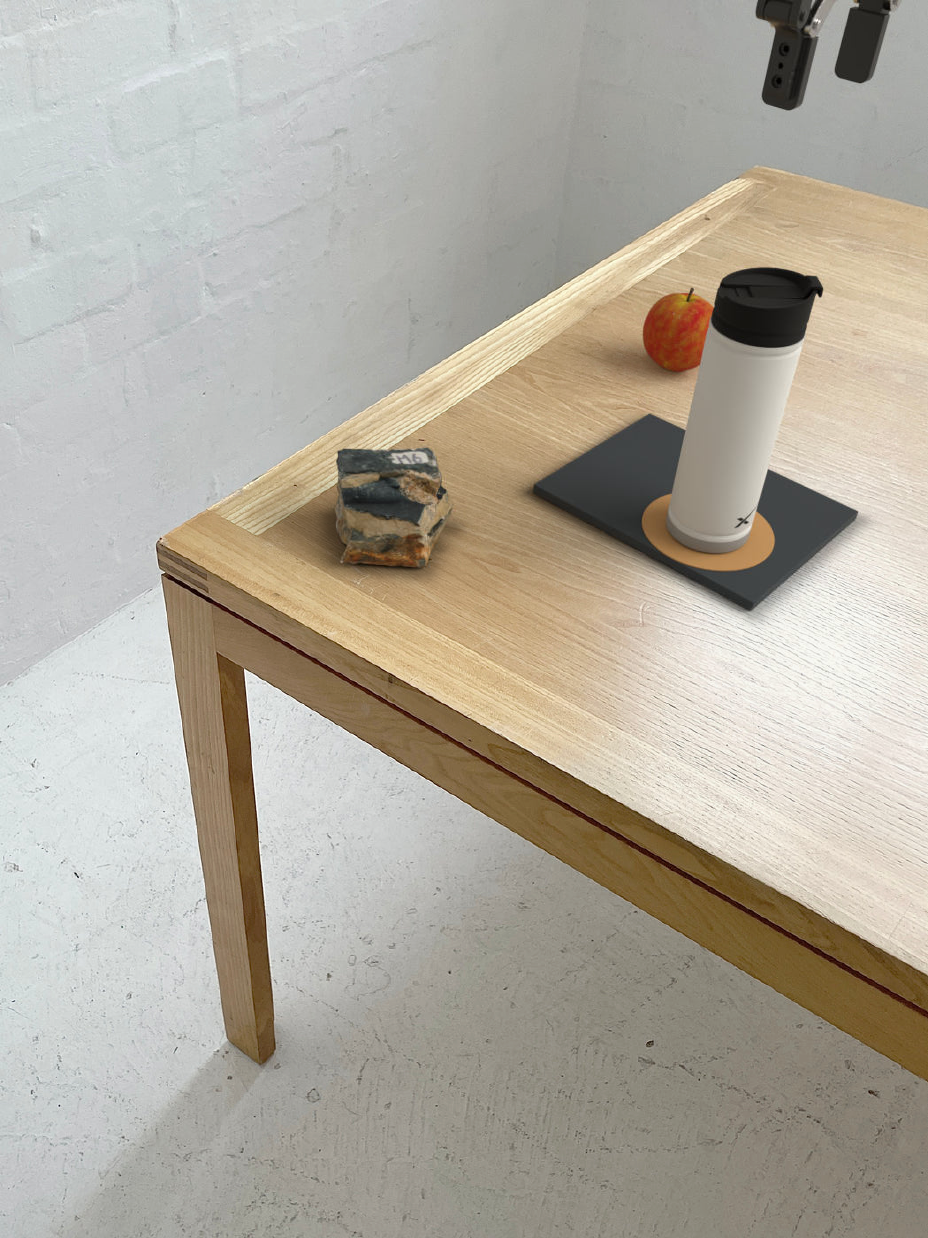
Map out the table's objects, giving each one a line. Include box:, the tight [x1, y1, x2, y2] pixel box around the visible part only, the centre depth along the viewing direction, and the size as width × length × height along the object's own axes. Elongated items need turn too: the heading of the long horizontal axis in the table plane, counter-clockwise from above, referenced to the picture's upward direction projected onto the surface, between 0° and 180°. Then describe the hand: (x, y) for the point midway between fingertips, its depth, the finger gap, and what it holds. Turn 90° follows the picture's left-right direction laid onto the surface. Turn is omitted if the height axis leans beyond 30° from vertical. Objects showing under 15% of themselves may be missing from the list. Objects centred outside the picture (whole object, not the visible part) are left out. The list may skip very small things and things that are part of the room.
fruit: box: [642, 287, 714, 373], centre depth 104 cm, size 7×7×8 cm
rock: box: [334, 446, 454, 569], centre depth 82 cm, size 9×9×6 cm
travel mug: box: [666, 266, 824, 553], centre depth 79 cm, size 6×7×20 cm
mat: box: [532, 413, 859, 612], centre depth 89 cm, size 20×16×1 cm
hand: (817, 92), depth 65 cm, fingers open, 8 cm apart
